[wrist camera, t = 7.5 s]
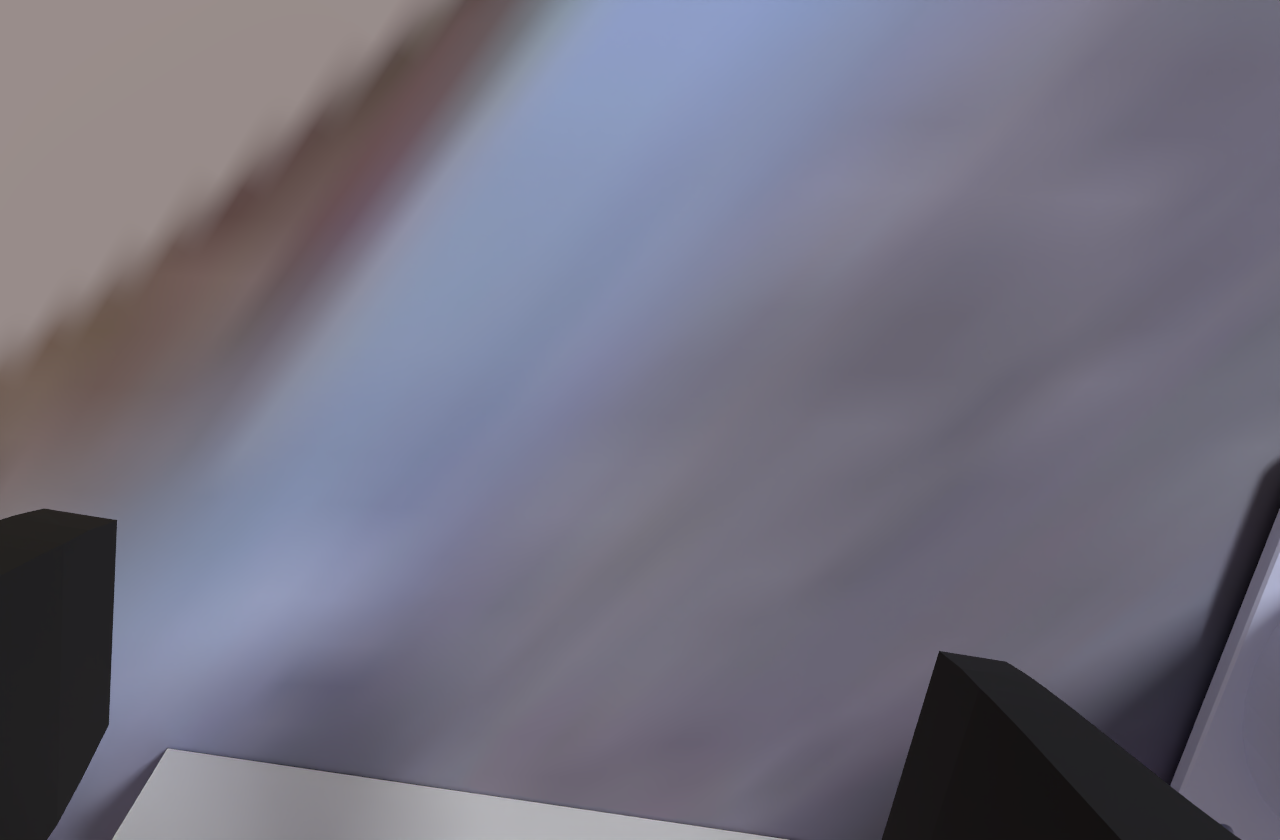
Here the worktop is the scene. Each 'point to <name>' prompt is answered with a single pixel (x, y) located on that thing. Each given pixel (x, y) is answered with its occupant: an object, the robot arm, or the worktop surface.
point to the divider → (356, 809)
